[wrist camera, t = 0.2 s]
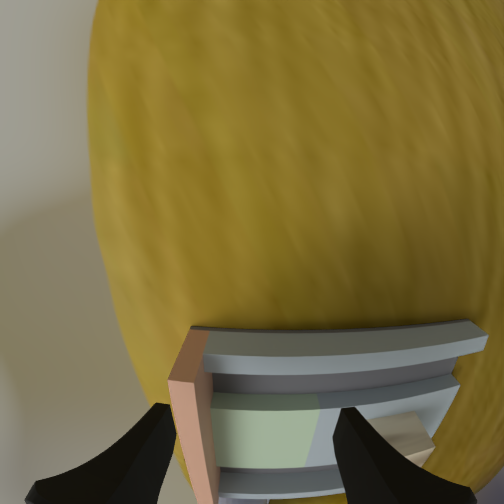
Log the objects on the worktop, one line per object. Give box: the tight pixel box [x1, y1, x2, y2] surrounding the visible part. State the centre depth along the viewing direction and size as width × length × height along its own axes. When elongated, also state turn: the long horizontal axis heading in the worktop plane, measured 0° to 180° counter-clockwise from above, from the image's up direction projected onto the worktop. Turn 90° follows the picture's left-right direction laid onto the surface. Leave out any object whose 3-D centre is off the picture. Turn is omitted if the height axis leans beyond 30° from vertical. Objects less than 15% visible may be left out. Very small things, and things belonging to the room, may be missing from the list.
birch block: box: [367, 411, 435, 467], centre depth 18 cm, size 5×5×5 cm
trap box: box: [168, 319, 489, 504], centre depth 19 cm, size 21×24×6 cm
